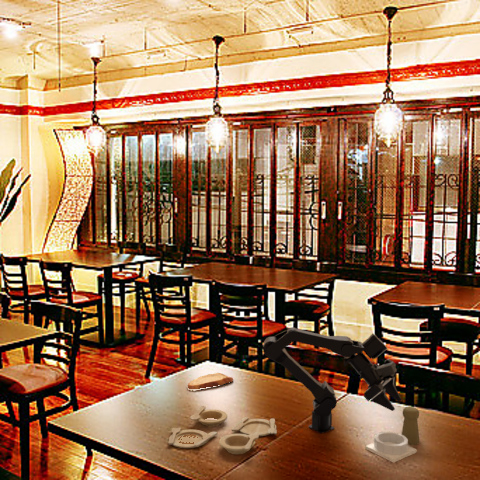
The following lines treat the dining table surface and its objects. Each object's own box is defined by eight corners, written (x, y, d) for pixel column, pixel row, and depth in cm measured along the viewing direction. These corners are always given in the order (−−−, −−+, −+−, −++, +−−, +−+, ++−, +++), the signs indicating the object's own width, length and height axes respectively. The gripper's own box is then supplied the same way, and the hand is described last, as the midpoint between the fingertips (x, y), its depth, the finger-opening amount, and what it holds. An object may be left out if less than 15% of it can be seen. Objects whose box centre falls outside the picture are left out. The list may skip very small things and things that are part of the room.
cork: (420, 445, 181) (421, 412, 180) (401, 443, 182) (402, 411, 181) (418, 437, 186) (419, 405, 185) (399, 435, 188) (400, 404, 187)
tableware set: (285, 425, 197) (285, 414, 197) (260, 463, 170) (260, 451, 169) (193, 412, 208) (193, 402, 208) (157, 446, 181) (157, 434, 181)
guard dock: (393, 462, 169) (393, 449, 169) (365, 448, 178) (365, 436, 178) (416, 452, 176) (416, 440, 175) (388, 439, 184) (388, 428, 184)
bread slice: (184, 391, 230) (184, 382, 230) (195, 377, 248) (195, 369, 248) (227, 394, 228) (227, 385, 227) (234, 379, 245) (234, 371, 245)
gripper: (374, 361, 178) (408, 401, 174) (388, 346, 195) (420, 382, 190) (350, 381, 183) (383, 420, 178) (366, 365, 199) (397, 401, 195)
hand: (397, 405), depth 185 cm, fingers open, 9 cm apart
